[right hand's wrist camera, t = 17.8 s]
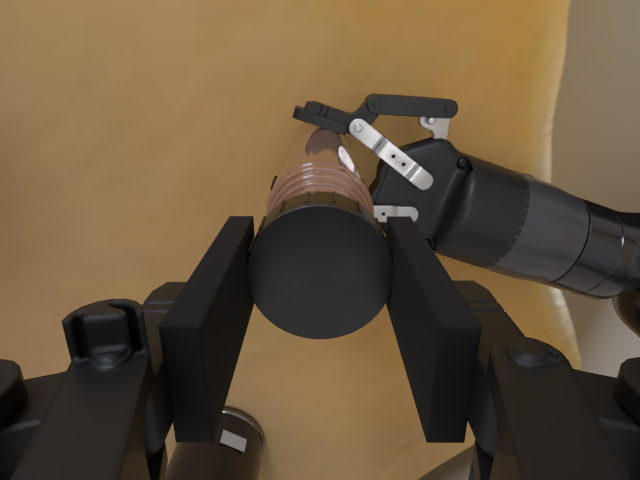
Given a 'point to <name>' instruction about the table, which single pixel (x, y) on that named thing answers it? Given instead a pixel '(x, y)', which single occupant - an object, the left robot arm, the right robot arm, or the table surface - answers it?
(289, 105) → the table surface
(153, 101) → the table surface
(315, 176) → the bottle
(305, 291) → the cap
